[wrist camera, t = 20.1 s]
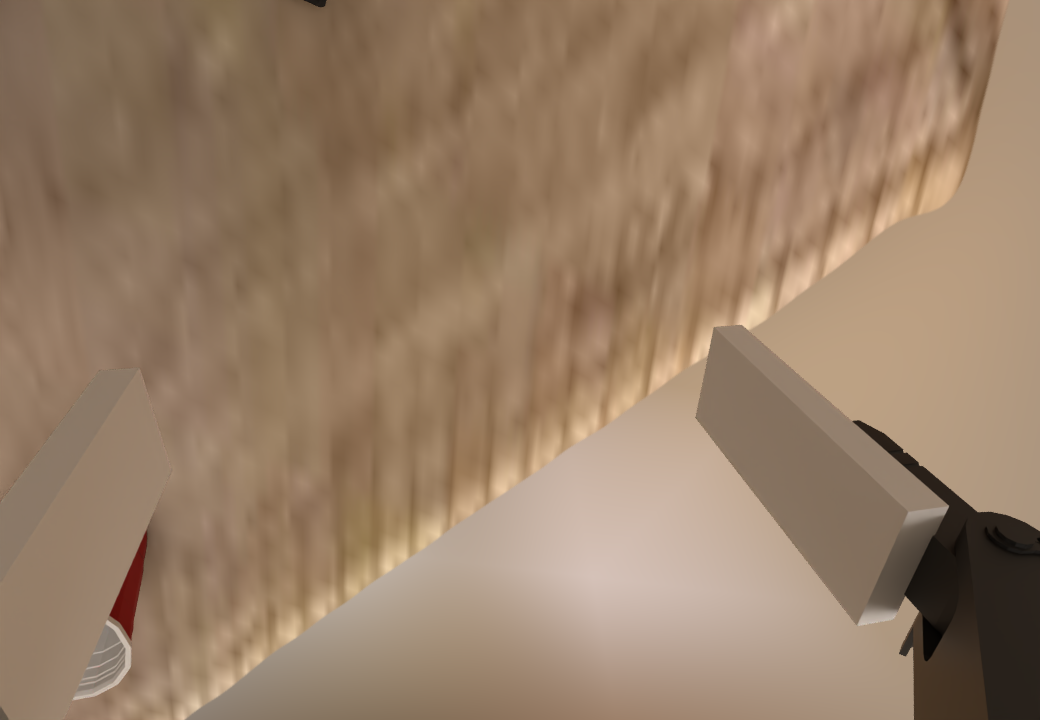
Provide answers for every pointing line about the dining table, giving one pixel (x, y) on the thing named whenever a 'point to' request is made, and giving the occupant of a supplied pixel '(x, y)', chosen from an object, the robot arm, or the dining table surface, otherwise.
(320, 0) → the handheld gaming console
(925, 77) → the dining table surface
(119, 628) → the plastic cup
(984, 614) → the robot arm
